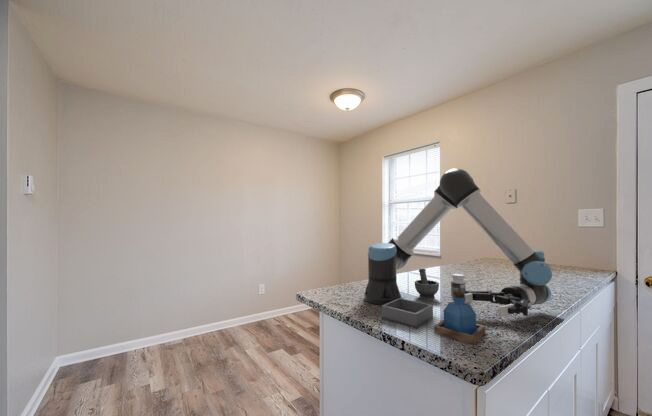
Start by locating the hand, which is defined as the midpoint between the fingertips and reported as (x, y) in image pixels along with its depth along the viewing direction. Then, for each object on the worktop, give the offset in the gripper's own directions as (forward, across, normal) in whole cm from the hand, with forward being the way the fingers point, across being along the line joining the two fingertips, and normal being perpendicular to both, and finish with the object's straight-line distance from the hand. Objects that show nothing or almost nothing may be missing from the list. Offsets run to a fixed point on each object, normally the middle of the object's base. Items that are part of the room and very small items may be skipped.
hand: (477, 305), depth 87 cm
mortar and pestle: (-11, +32, -7) cm, 34 cm away
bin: (+14, +16, -7) cm, 23 cm away
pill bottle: (-24, +26, -7) cm, 36 cm away
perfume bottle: (+8, 0, -7) cm, 11 cm away
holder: (+8, 0, -7) cm, 11 cm away
